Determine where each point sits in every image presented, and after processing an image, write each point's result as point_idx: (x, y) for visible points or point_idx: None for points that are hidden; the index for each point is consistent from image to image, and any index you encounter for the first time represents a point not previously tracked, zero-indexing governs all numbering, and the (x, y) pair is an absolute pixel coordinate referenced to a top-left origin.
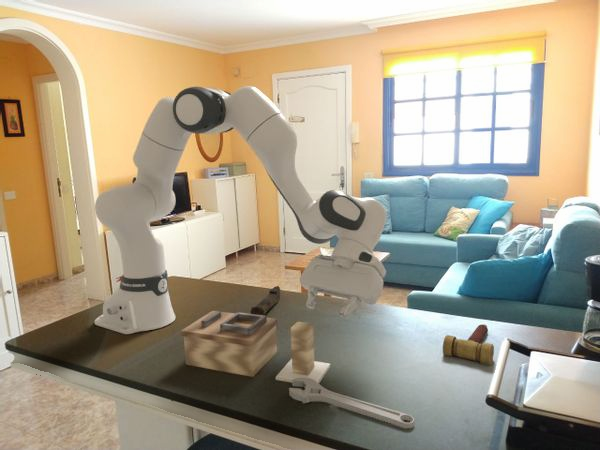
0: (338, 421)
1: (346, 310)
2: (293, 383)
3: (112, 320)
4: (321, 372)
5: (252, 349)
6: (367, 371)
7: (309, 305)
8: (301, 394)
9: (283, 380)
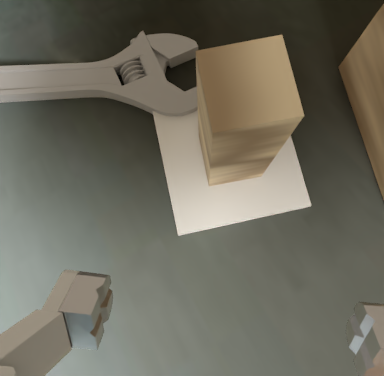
0: (39, 26)
1: (53, 290)
2: None
3: None
4: (174, 172)
5: (382, 13)
6: (61, 267)
7: (372, 303)
8: (153, 39)
9: None
